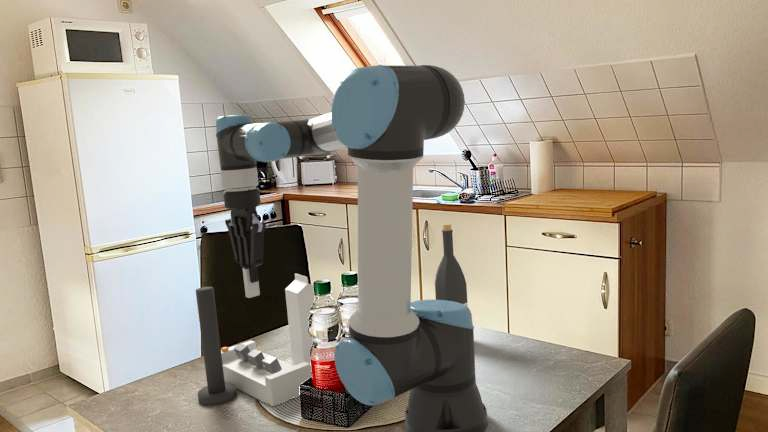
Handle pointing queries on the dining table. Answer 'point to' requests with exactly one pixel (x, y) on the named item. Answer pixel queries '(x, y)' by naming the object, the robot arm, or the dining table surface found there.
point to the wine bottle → (450, 273)
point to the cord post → (212, 352)
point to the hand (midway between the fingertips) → (252, 295)
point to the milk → (299, 318)
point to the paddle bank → (257, 358)
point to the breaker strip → (263, 377)
